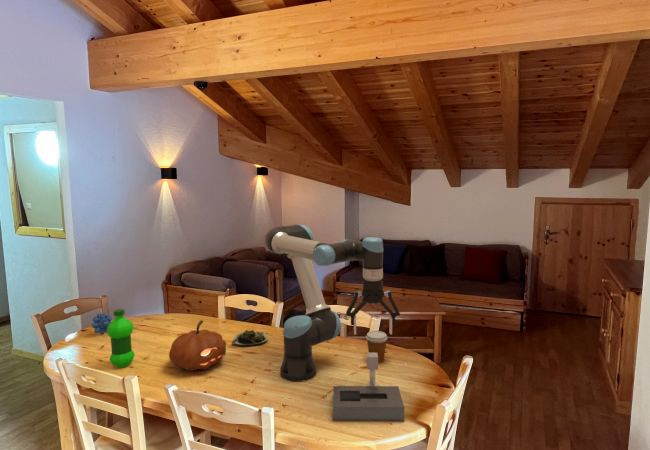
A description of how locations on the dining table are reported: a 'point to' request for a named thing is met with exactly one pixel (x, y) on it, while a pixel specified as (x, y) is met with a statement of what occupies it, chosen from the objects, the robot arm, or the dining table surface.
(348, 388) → the keyhole plate
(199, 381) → the dining table surface
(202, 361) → the pumpkin
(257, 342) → the salad plate
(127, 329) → the plastic bottle
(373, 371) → the headed peg
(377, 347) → the disposable coffee cup
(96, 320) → the grapes
